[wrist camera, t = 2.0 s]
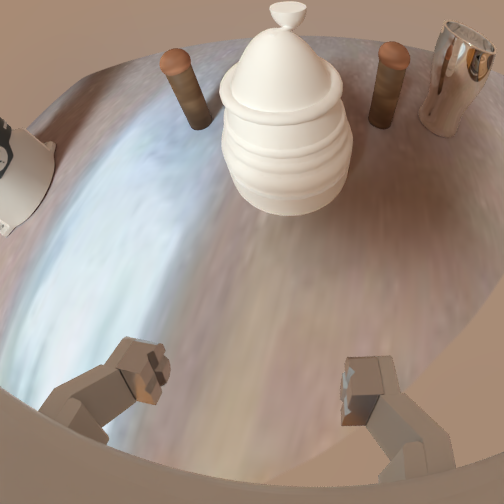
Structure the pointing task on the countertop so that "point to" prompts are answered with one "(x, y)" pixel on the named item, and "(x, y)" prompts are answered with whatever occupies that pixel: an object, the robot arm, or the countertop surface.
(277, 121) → the honey pot
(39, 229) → the countertop surface
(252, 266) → the countertop surface
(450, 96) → the beer glass
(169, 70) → the post
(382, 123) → the post
